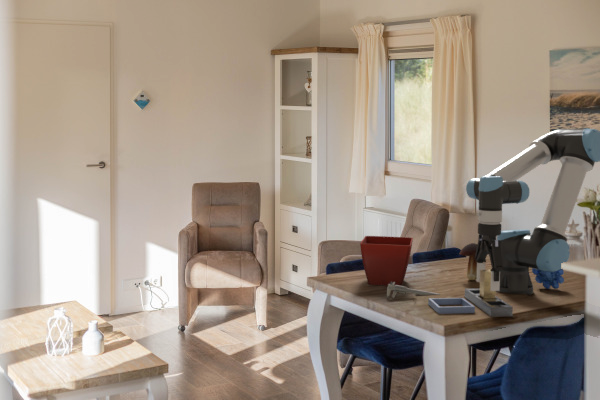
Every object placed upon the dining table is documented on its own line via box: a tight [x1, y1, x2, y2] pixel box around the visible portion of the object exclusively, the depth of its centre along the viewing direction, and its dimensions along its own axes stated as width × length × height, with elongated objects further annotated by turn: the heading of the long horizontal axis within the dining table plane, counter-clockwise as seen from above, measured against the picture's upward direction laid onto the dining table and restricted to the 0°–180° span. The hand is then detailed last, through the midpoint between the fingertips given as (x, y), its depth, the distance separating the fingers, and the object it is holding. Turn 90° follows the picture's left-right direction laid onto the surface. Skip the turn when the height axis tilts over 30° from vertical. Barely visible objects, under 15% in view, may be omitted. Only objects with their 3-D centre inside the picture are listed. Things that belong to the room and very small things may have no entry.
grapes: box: [531, 268, 565, 290], centre depth 264 cm, size 12×7×12 cm, turn 62°
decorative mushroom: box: [458, 242, 489, 281], centre depth 279 cm, size 11×11×15 cm
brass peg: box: [479, 269, 497, 299], centre depth 235 cm, size 4×4×12 cm
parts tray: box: [427, 297, 476, 315], centre depth 232 cm, size 12×12×3 cm
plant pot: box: [359, 235, 414, 287], centre depth 275 cm, size 19×19×17 cm
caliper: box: [386, 282, 441, 299], centre depth 251 cm, size 20×1×6 cm, turn 95°
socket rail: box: [464, 287, 514, 318], centre depth 235 cm, size 26×7×4 cm, turn 5°
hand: (487, 286), depth 235 cm, fingers open, 13 cm apart
